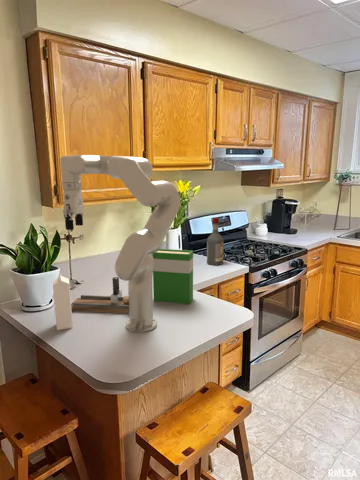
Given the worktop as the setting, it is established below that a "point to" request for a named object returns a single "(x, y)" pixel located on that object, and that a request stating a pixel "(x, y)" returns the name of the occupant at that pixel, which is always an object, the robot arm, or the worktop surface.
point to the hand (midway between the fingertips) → (74, 227)
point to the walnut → (126, 300)
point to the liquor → (215, 246)
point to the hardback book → (173, 276)
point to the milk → (62, 303)
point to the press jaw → (116, 292)
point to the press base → (98, 304)
